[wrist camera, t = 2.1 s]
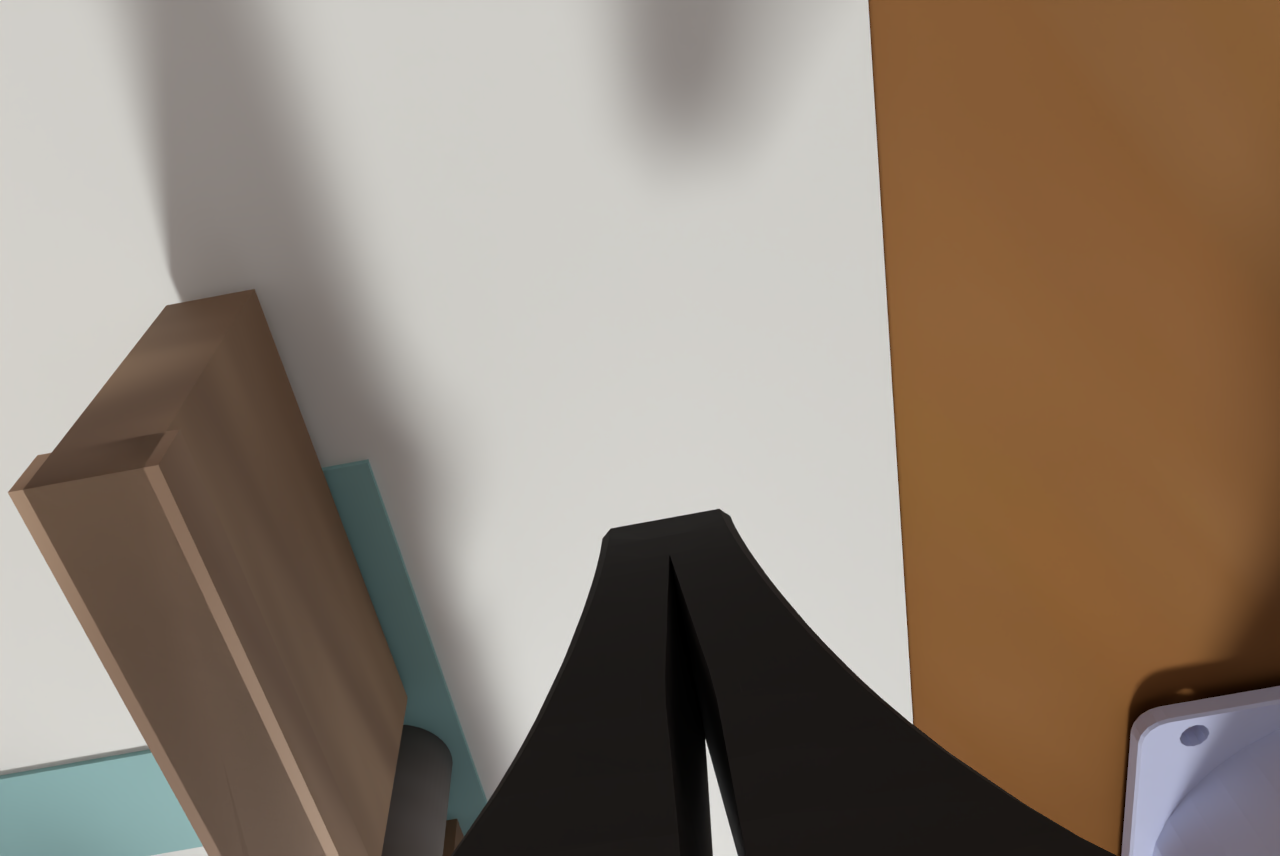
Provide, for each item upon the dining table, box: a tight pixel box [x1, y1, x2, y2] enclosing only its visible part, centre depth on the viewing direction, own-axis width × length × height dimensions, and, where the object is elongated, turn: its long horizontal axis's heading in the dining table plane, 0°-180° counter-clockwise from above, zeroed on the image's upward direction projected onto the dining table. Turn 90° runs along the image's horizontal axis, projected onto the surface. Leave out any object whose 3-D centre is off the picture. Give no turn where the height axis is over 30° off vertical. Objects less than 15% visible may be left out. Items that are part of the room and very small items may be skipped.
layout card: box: [0, 0, 913, 856], centre depth 18 cm, size 18×24×1 cm
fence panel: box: [8, 289, 408, 856], centre depth 14 cm, size 2×7×4 cm, turn 10°
